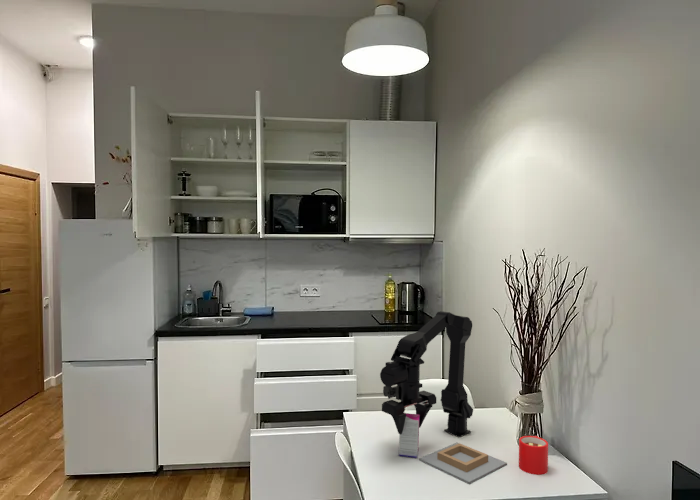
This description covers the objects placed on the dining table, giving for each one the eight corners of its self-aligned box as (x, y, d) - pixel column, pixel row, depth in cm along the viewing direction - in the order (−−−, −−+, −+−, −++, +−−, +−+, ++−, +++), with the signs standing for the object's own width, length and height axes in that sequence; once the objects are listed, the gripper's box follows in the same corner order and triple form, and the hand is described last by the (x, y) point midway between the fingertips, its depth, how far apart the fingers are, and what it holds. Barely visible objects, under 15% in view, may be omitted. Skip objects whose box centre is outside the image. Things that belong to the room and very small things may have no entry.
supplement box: (418, 458, 145) (418, 420, 145) (398, 456, 146) (398, 418, 146) (419, 450, 151) (419, 413, 151) (400, 448, 152) (400, 412, 152)
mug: (549, 459, 146) (550, 433, 145) (546, 477, 135) (547, 449, 135) (521, 454, 149) (522, 428, 149) (516, 471, 138) (517, 443, 138)
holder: (457, 444, 156) (457, 436, 156) (506, 464, 142) (507, 455, 142) (418, 460, 144) (419, 451, 144) (469, 484, 130) (469, 474, 130)
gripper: (411, 369, 160) (410, 416, 161) (369, 379, 148) (369, 430, 149) (437, 376, 152) (437, 426, 152) (395, 388, 140) (394, 441, 140)
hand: (409, 430), depth 149 cm, fingers closed on supplement box, 8 cm apart
